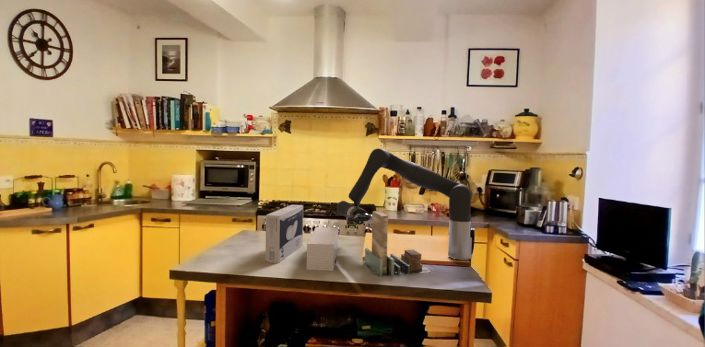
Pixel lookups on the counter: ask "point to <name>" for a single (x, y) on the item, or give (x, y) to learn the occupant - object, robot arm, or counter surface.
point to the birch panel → (380, 237)
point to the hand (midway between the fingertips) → (368, 221)
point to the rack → (389, 265)
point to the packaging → (283, 232)
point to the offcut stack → (412, 259)
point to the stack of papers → (322, 248)
